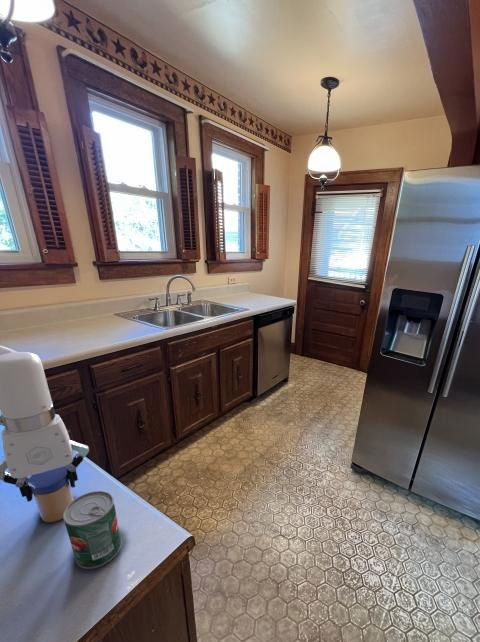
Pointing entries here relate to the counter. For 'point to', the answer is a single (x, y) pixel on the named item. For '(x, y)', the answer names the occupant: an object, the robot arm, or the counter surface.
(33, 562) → the counter surface
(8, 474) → the robot arm
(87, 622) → the counter surface
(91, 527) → the canned tomato
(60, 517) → the jam jar
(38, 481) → the jar lid
